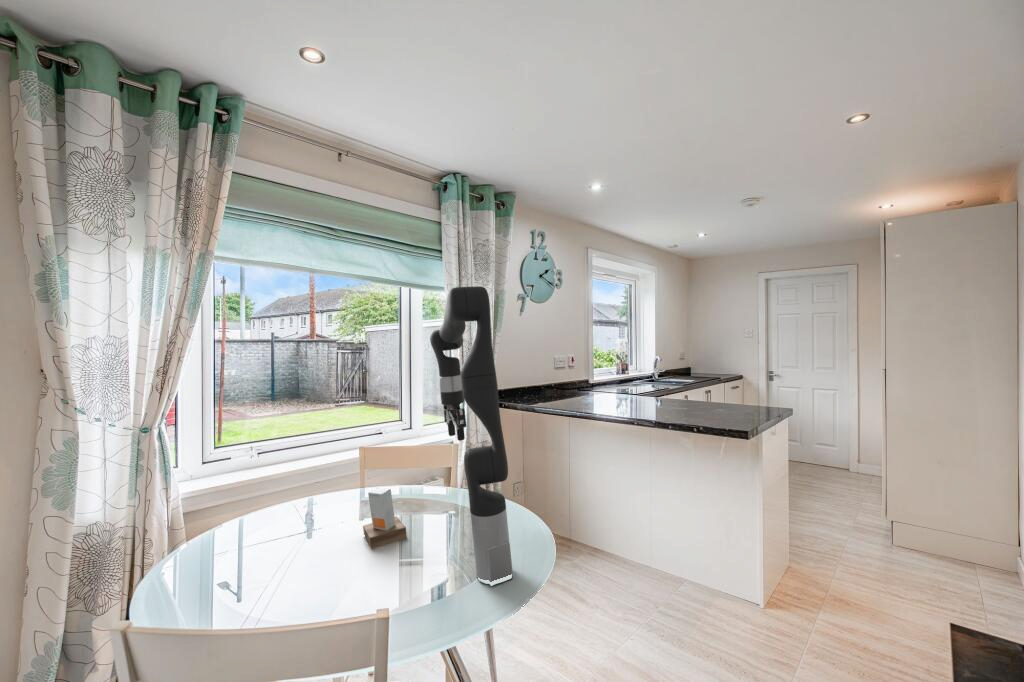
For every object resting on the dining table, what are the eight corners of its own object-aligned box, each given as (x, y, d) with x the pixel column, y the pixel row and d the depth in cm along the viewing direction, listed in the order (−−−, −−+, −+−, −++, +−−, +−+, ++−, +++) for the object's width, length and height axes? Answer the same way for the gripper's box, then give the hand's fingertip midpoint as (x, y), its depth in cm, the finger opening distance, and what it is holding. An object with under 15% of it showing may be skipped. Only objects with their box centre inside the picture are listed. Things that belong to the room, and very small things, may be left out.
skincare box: (372, 528, 145) (367, 492, 144) (382, 522, 149) (376, 486, 148) (387, 531, 142) (381, 494, 141) (396, 524, 146) (391, 488, 145)
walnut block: (407, 539, 144) (405, 527, 144) (371, 551, 138) (370, 538, 138) (397, 527, 153) (396, 516, 153) (364, 537, 148) (363, 525, 148)
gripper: (470, 389, 146) (475, 439, 147) (454, 385, 159) (459, 432, 159) (448, 393, 143) (453, 444, 143) (434, 389, 155) (438, 436, 156)
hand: (456, 437), depth 151 cm, fingers open, 8 cm apart
